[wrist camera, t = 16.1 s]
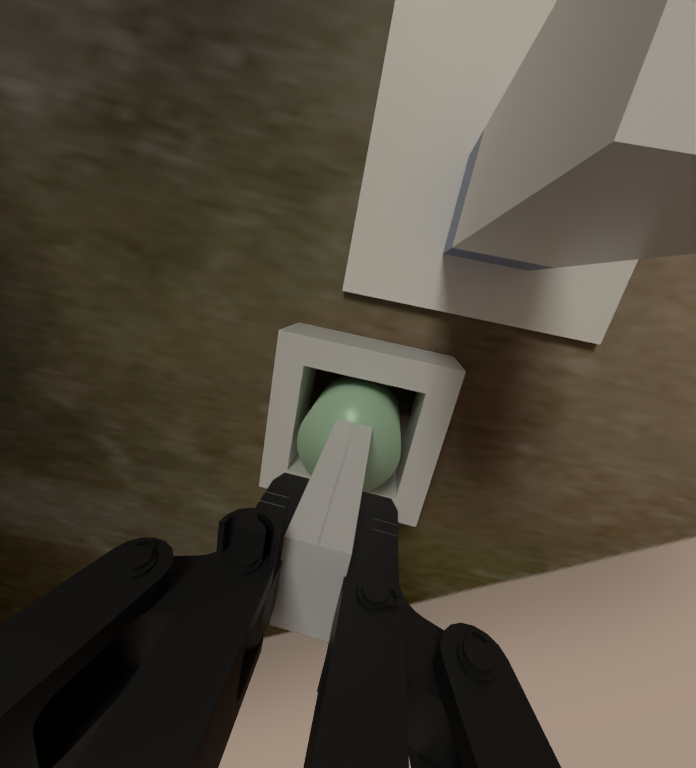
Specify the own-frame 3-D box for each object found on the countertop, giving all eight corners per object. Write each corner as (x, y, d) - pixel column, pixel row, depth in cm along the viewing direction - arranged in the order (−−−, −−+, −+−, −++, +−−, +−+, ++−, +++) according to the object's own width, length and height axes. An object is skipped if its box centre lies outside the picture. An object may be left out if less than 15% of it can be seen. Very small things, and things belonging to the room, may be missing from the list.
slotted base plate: (432, -193, 11) (433, -212, 11) (815, -157, 10) (832, -176, 10) (343, 290, 16) (342, 290, 16) (594, 343, 15) (600, 344, 15)
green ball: (324, 365, 17) (305, 387, 13) (409, 384, 16) (412, 412, 13) (311, 440, 18) (290, 479, 15) (389, 459, 18) (387, 504, 14)
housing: (298, 322, 17) (278, 329, 14) (453, 356, 16) (465, 371, 13) (279, 456, 19) (258, 486, 16) (412, 490, 19) (415, 527, 16)
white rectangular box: (468, 155, 13) (897, -597, 2) (563, 172, 13) (1709, -596, 2) (442, 253, 14) (613, 142, 3) (529, 270, 14) (1059, 215, 3)
